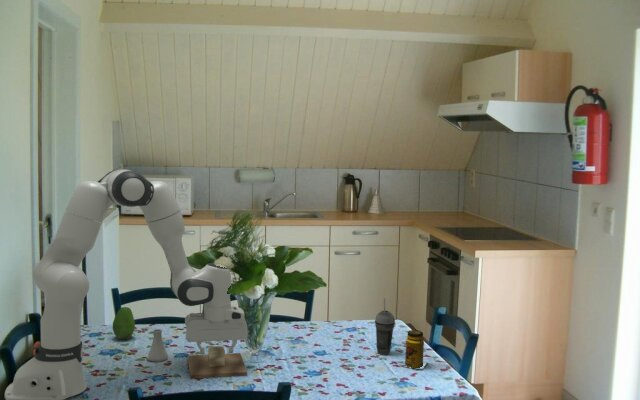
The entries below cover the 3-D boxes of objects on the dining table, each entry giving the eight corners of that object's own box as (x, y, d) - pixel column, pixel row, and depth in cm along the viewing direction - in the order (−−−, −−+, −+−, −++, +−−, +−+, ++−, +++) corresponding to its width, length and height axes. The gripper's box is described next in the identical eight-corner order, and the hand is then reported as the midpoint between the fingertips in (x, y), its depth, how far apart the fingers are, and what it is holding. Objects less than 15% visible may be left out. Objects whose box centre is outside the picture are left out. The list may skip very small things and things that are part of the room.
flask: (162, 363, 230) (163, 334, 229) (142, 361, 231) (142, 332, 230) (171, 356, 237) (171, 328, 236) (152, 354, 238) (152, 326, 237)
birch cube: (209, 366, 225) (209, 351, 224) (208, 361, 230) (208, 346, 229) (224, 365, 226) (224, 351, 225) (223, 360, 231) (223, 346, 230)
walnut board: (190, 378, 217) (190, 374, 217) (187, 359, 235) (187, 355, 234) (247, 375, 221) (247, 371, 221) (240, 356, 239) (240, 353, 239)
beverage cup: (378, 357, 242) (381, 302, 240) (369, 350, 249) (372, 297, 247) (397, 355, 245) (399, 300, 243) (387, 349, 252) (390, 295, 249)
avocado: (139, 338, 255) (139, 306, 253) (123, 343, 248) (123, 311, 247) (123, 334, 259) (123, 302, 257) (107, 339, 252) (107, 307, 251)
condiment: (401, 367, 234) (402, 332, 232) (408, 359, 241) (410, 326, 240) (421, 371, 231) (423, 336, 229) (428, 363, 238) (430, 329, 237)
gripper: (185, 316, 220) (185, 357, 222) (249, 314, 225) (248, 354, 227) (184, 310, 226) (184, 351, 228) (246, 308, 231) (245, 348, 233)
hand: (216, 353), depth 227 cm, fingers open, 8 cm apart
